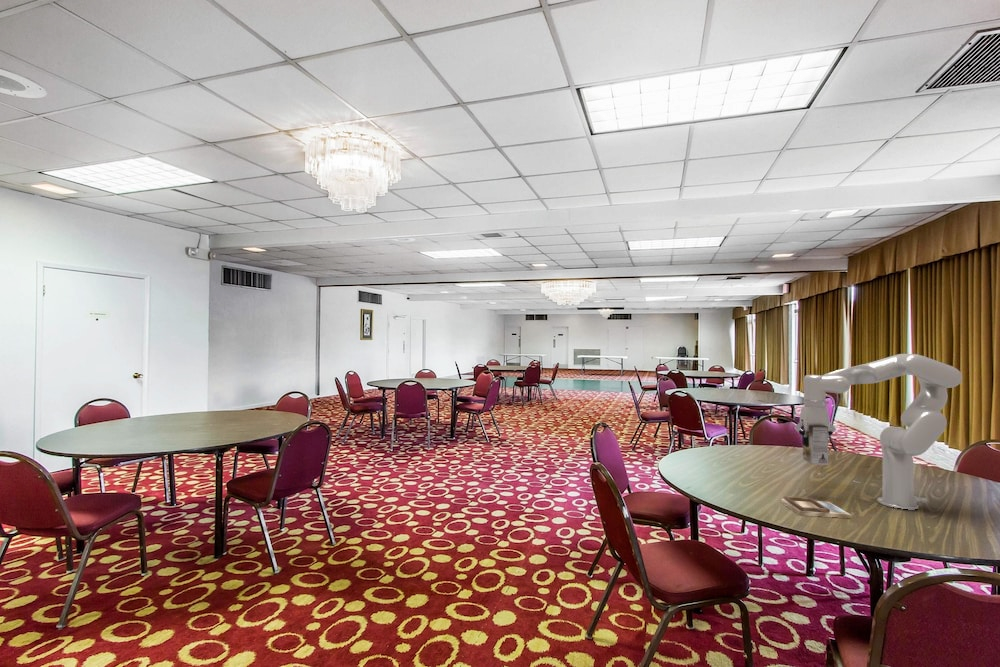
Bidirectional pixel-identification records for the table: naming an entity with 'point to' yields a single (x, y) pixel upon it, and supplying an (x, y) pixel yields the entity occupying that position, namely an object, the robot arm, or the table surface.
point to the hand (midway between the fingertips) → (815, 446)
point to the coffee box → (817, 445)
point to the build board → (813, 507)
